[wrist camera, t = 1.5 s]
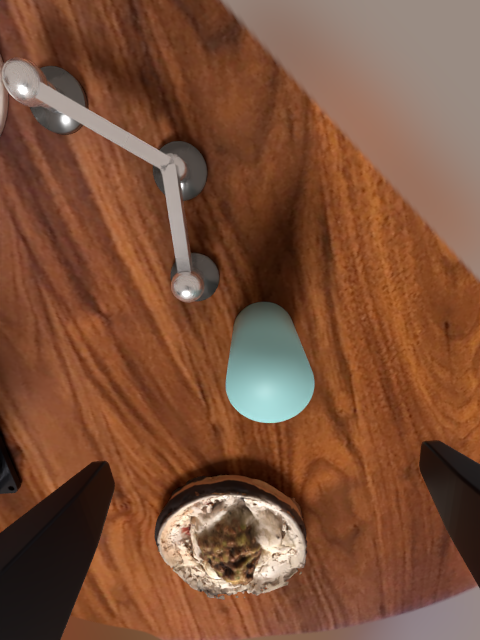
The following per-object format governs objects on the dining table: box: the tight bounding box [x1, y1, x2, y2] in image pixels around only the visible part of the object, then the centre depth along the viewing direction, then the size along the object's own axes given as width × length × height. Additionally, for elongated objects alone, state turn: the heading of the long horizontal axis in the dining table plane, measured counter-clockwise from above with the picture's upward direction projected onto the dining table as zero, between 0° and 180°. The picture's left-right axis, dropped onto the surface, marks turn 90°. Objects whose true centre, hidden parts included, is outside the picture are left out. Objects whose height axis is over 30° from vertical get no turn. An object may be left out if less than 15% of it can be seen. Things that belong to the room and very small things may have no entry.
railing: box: [2, 58, 219, 302], centre depth 16 cm, size 13×9×4 cm
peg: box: [226, 302, 314, 423], centre depth 17 cm, size 4×4×7 cm
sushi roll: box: [155, 475, 307, 600], centre depth 25 cm, size 15×15×4 cm
